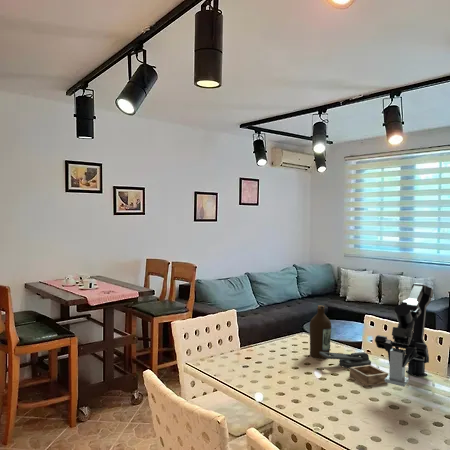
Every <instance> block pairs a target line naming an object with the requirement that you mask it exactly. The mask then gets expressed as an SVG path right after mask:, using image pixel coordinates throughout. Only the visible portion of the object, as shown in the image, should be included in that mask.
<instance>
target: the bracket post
mask: <svg viewBox="0 0 450 450" xmlns="http://www.w3.org/2000/svg"><path fill="white" fill-rule="evenodd" d="M405 355H406V349H403V348H398V347H393V348H392V349H391V350H390V364H389V372H388V376H387V377H386V378H385V382H387V384H390V385H396V386H398V387H400V386H401V387H406V385H408V384H409V383H408V382H410V378H409V377H406V366H405V367H403V361H404V358H405Z"/></svg>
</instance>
